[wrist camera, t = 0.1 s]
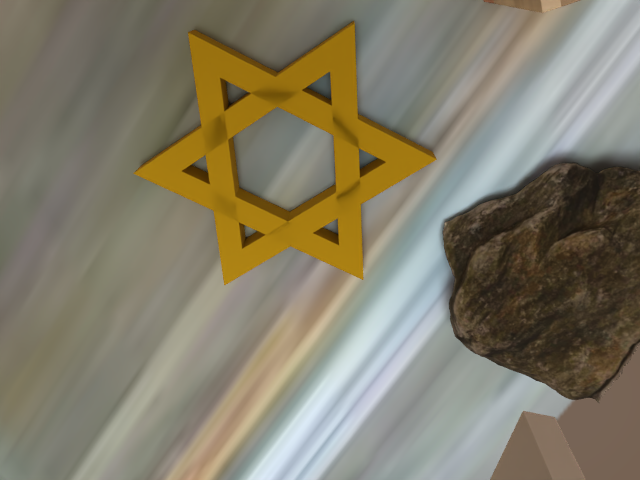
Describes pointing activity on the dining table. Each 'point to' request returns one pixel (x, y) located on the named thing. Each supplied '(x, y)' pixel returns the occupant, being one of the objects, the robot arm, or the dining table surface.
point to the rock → (552, 278)
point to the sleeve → (533, 4)
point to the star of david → (294, 97)
